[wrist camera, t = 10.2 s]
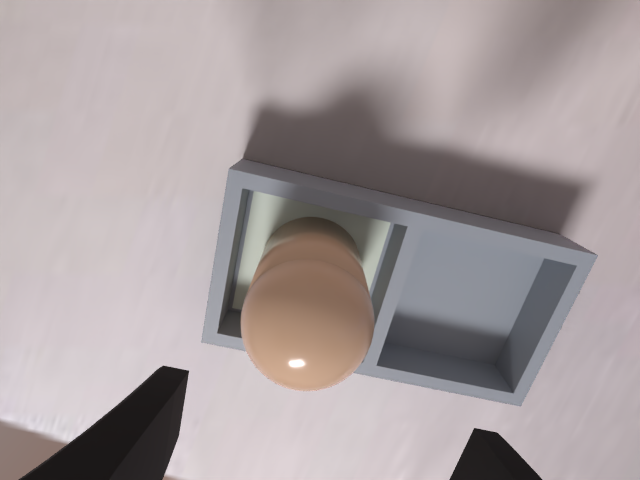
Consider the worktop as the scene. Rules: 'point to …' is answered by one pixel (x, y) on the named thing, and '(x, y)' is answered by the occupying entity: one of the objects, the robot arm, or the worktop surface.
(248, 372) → the worktop surface
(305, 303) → the tan capsule
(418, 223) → the divided tray
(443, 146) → the worktop surface
